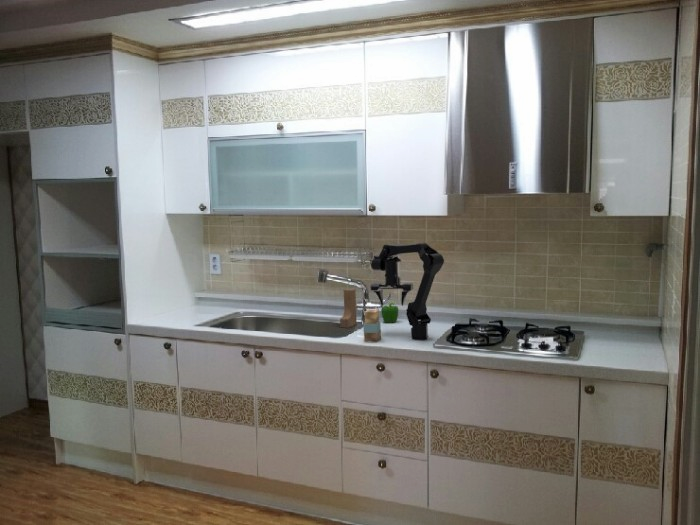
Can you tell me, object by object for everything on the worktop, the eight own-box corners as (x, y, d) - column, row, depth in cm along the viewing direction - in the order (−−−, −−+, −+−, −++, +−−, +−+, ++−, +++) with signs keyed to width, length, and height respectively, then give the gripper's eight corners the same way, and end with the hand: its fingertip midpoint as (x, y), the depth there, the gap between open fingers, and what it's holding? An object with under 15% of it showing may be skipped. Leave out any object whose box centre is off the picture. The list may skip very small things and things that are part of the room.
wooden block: (347, 328, 301) (346, 291, 299) (339, 327, 303) (338, 291, 301) (357, 324, 308) (355, 288, 307) (349, 324, 311) (347, 288, 309)
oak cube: (379, 321, 274) (378, 310, 274) (376, 323, 269) (375, 312, 269) (368, 321, 276) (367, 309, 275) (364, 323, 271) (364, 311, 270)
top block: (380, 330, 274) (380, 321, 274) (377, 332, 269) (376, 323, 268) (367, 329, 276) (367, 320, 276) (363, 332, 271) (363, 323, 270)
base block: (381, 338, 275) (380, 330, 274) (377, 342, 269) (377, 332, 269) (368, 338, 277) (367, 329, 276) (364, 341, 271) (363, 332, 271)
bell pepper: (378, 322, 312) (377, 302, 311) (389, 319, 317) (389, 300, 316) (390, 324, 306) (389, 304, 305) (401, 321, 311) (401, 302, 310)
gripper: (415, 269, 286) (416, 302, 288) (376, 269, 292) (377, 302, 294) (410, 272, 276) (411, 307, 277) (369, 272, 282) (371, 306, 283)
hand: (392, 305), depth 283 cm, fingers open, 9 cm apart
